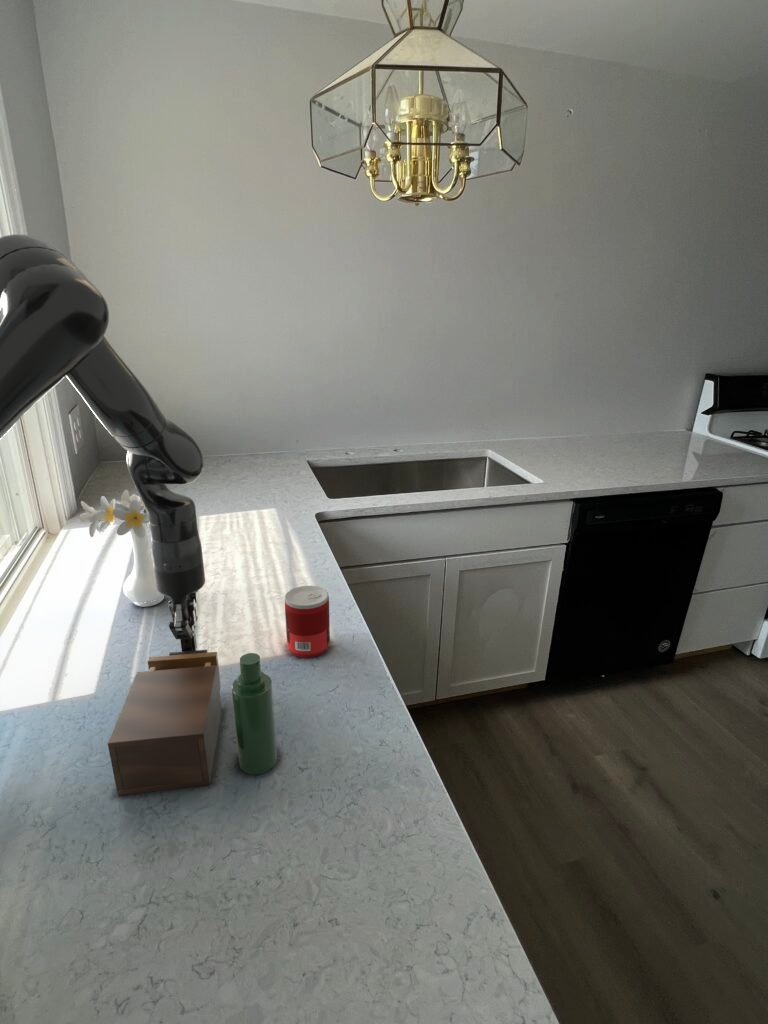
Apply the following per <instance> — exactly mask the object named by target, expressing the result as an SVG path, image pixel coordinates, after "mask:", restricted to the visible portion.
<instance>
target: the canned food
mask: <svg viewBox="0 0 768 1024" xmlns="http://www.w3.org/2000/svg"><path fill="white" fill-rule="evenodd" d="M284 616H285V617H284V618H285V632H286V646H287V649H288V651H289V653H290V654H292V655H293V656H295V657H297V658H304V659H306V658H307V659H309V658H315V657H319V656H321V655H322V654H324V653H326V652H327V650H328V649H329V646H330V643H331V629H330V627H331V626H330V625H331V624H330V595H329V591H327V589H325V588H323V587H321V586H317V585H301V586H298V587H294V588H291V589H290V590H288V591H287V592H286V593H285V595H284Z"/></svg>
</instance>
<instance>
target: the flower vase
mask: <svg viewBox="0 0 768 1024" xmlns="http://www.w3.org/2000/svg"><path fill="white" fill-rule="evenodd" d="M129 492H130V491H129V490H128V489H124V491H123V492H122V494H121V496H120V497H121V498H120V500H116V499H115V498H113V499H111V500H110V502H109V501H108V499H107V497H106V496H104V495H102V496H100V505H101V508H102V509H103V510H99V511H97V510H95V508H94V507H93V506H90V505H88V503H86V502H85V501H83V500H80V505H81V507H82V508H83V510H84V511H85V512H86V513H81V514H80V515H79V521H80V522H81V523H82V524H89V528H88V532H89V533H88V534H89V536H90V538H93V537H94V535H95V533H96V531H97V532H98V534H99V535H102V534H103V533H104V532H105V530H107V528H109V525H110V526H113V525H115V523H116V519H118V520H120V521H122V522H121V523H120V524H119V525H118V527H117V529H116V534H117V535H118V536H124V535H127V534H128V533H130V537H131V541H132V542H131V543H132V550H133V567H132V571H131V573H130V574H129V575H128V576H127V577H126V579H125V581H124V583H123V586H122V592H123V594H124V596H125V597H126V598H127V599H129V600H130V601H132V603H133V604H134V605H135V606H137V607H145V608H147V607H152V606H155V605H159V604H160V603H161V602H163V601H164V598H165V595H163V594H161V593H160V592H159V591H158V590H157V588H156V581H155V574H154V567H153V560H152V553H151V551H150V550H151V549H150V546H149V540H148V524H149V519H148V514H147V511H146V509H145V506H144V504H143V502H142V500H141V497H140V495H139V496H138V495H137V493H134V494H132V495H130V493H129ZM141 511H143V512H142V513H141ZM154 600H155V601H154ZM151 601H152V602H151ZM141 602H143V603H141ZM144 602H146V603H144Z"/></svg>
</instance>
